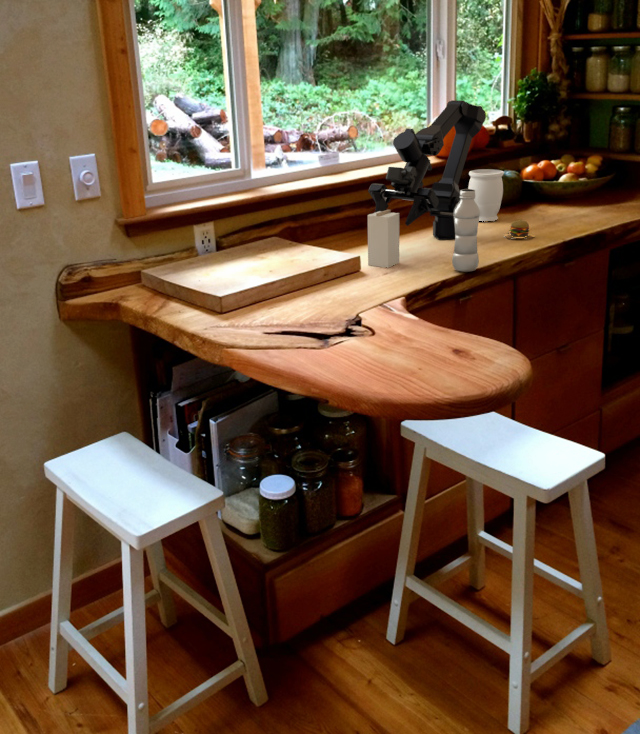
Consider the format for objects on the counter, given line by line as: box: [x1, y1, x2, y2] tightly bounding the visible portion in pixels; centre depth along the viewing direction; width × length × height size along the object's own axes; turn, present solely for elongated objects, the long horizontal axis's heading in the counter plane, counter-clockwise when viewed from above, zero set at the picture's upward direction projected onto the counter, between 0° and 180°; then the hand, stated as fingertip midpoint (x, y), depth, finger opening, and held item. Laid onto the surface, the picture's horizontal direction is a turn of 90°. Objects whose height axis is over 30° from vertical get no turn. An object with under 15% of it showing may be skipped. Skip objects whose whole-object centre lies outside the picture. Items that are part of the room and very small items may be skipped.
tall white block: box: [367, 208, 400, 269], centre depth 210 cm, size 6×6×14 cm
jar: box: [467, 168, 505, 223], centre depth 255 cm, size 11×10×15 cm
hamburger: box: [503, 219, 530, 240], centre depth 234 cm, size 12×12×6 cm
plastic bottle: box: [451, 188, 480, 273], centre depth 200 cm, size 6×7×20 cm
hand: (391, 222), depth 212 cm, fingers open, 9 cm apart
